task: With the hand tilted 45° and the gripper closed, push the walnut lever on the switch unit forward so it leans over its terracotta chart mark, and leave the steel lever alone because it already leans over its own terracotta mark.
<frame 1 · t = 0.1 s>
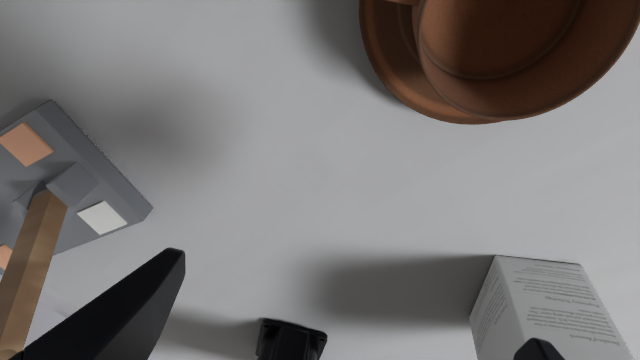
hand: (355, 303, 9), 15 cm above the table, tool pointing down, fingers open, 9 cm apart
switch unit: (29, 196, 30), on the table
skincare box: (517, 289, 30), on the table
walnut lever: (23, 277, 23), point 8 cm above the table, hinge at -25.0°
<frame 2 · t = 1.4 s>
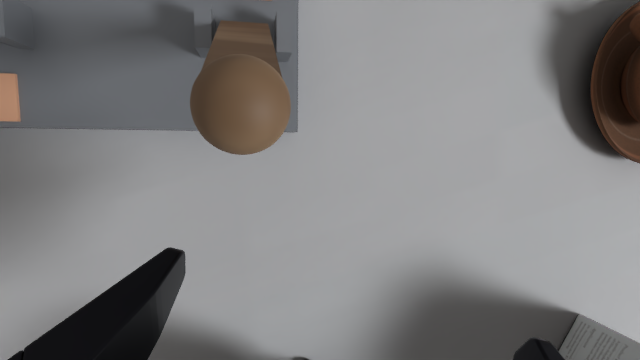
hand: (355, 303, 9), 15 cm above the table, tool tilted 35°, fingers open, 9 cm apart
switch unit: (129, 41, 21), on the table
cup and saucer: (637, 85, 28), on the table
walnut lever: (243, 61, 15), point 8 cm above the table, hinge at -25.0°
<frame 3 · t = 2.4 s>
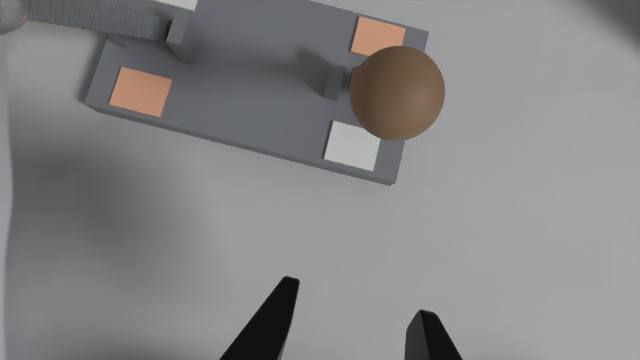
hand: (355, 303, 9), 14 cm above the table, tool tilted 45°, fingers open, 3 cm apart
switch unit: (265, 76, 24), on the table
steel lever: (83, 11, 16), point 8 cm above the table, hinge at -25.0°
walnut lever: (380, 87, 16), point 8 cm above the table, hinge at -25.0°
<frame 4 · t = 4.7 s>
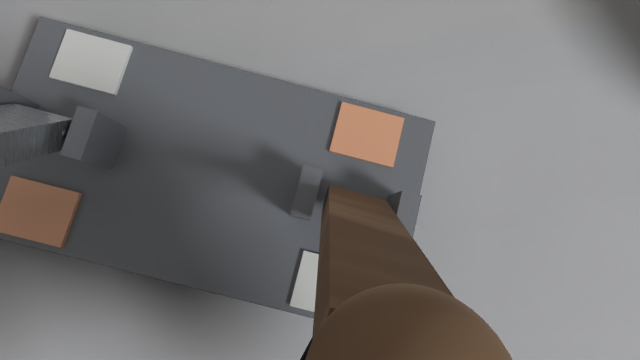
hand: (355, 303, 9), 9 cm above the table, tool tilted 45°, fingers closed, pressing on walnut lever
switch unit: (216, 176, 18), on the table
walnut lever: (368, 257, 10), point 8 cm above the table, hinge at -17.4°, touching gripper
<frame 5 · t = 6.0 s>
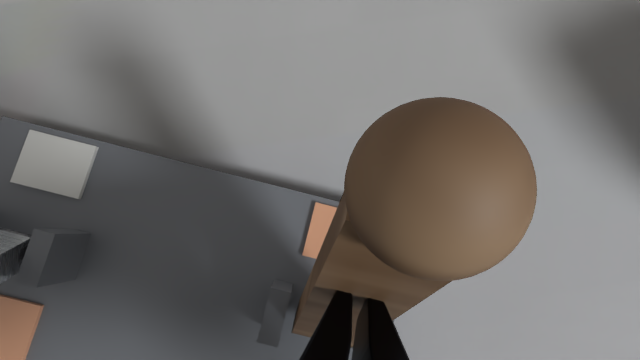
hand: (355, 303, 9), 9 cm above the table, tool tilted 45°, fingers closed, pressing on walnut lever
switch unit: (187, 275, 18), on the table
walnut lever: (359, 281, 10), point 8 cm above the table, hinge at 24.8°, touching gripper
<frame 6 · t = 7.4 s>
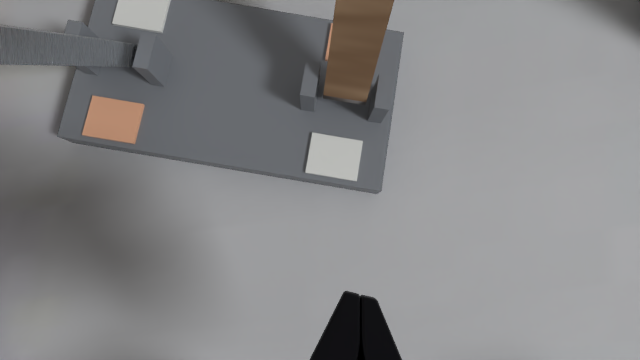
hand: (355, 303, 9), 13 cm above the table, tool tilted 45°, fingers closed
switch unit: (240, 92, 24), on the table
steel lever: (36, 45, 15), point 8 cm above the table, hinge at -25.0°
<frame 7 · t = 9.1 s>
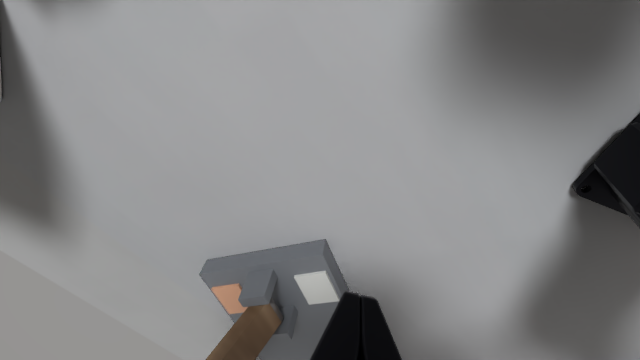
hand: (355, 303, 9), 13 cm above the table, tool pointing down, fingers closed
switch unit: (308, 328, 32), on the table
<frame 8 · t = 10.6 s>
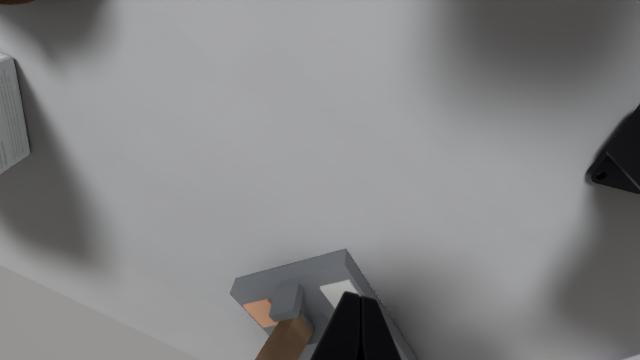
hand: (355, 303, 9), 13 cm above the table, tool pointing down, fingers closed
switch unit: (341, 333, 33), on the table
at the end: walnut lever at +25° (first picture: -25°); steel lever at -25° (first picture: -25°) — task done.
